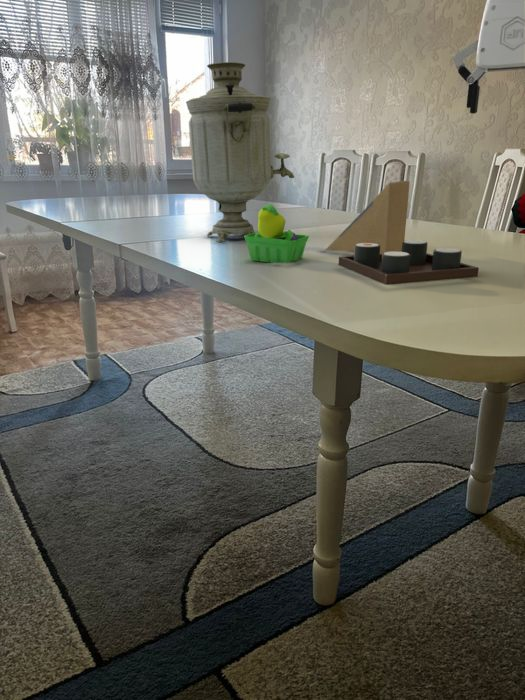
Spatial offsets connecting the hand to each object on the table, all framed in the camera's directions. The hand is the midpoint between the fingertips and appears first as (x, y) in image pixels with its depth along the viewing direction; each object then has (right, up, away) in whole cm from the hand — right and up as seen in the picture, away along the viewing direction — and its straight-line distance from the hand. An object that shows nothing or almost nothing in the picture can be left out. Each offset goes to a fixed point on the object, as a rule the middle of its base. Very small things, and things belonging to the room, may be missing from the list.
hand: (506, 111), depth 83 cm
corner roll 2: (-9, -20, +20) cm, 30 cm away
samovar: (-42, -8, +56) cm, 71 cm away
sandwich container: (-15, -15, +36) cm, 42 cm away
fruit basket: (-35, -19, +26) cm, 48 cm away
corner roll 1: (-15, -25, +8) cm, 30 cm away
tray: (-12, -23, +14) cm, 29 cm away
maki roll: (-18, -21, +17) cm, 33 cm away
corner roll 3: (-6, -23, +11) cm, 26 cm away
